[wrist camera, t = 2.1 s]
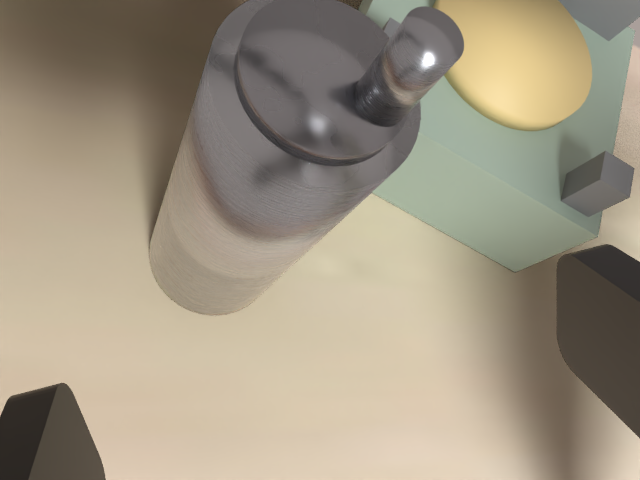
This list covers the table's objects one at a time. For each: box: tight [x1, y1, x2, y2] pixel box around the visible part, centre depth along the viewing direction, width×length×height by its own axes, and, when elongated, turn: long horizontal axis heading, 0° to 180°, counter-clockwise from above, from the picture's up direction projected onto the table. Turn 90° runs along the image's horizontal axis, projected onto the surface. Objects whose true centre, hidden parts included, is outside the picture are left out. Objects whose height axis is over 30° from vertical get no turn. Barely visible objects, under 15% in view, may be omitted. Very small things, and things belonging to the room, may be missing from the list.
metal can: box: [149, 0, 464, 315], centre depth 20 cm, size 6×6×17 cm
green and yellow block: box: [358, 0, 640, 272], centre depth 30 cm, size 14×14×11 cm
